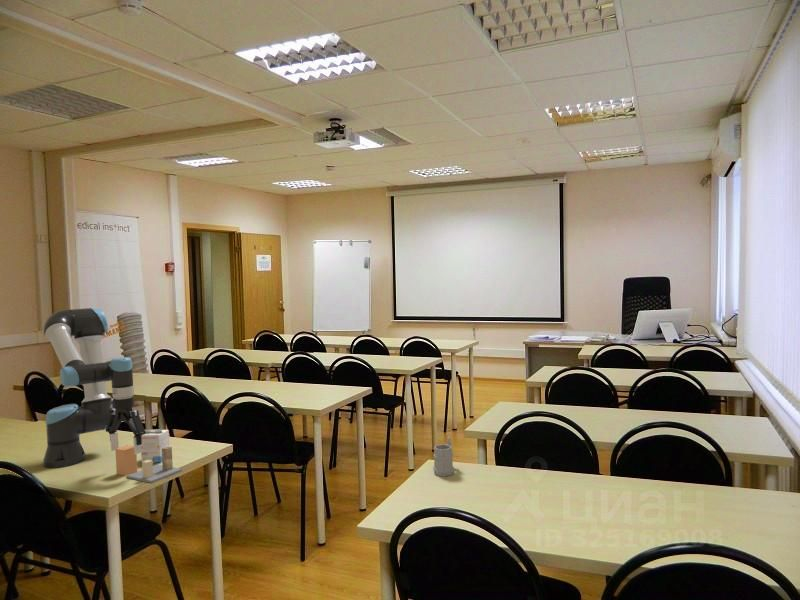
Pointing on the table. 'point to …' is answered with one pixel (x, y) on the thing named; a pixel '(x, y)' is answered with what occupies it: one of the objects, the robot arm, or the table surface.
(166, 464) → the beech post
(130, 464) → the peach carton
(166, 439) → the ink box
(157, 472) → the post board
